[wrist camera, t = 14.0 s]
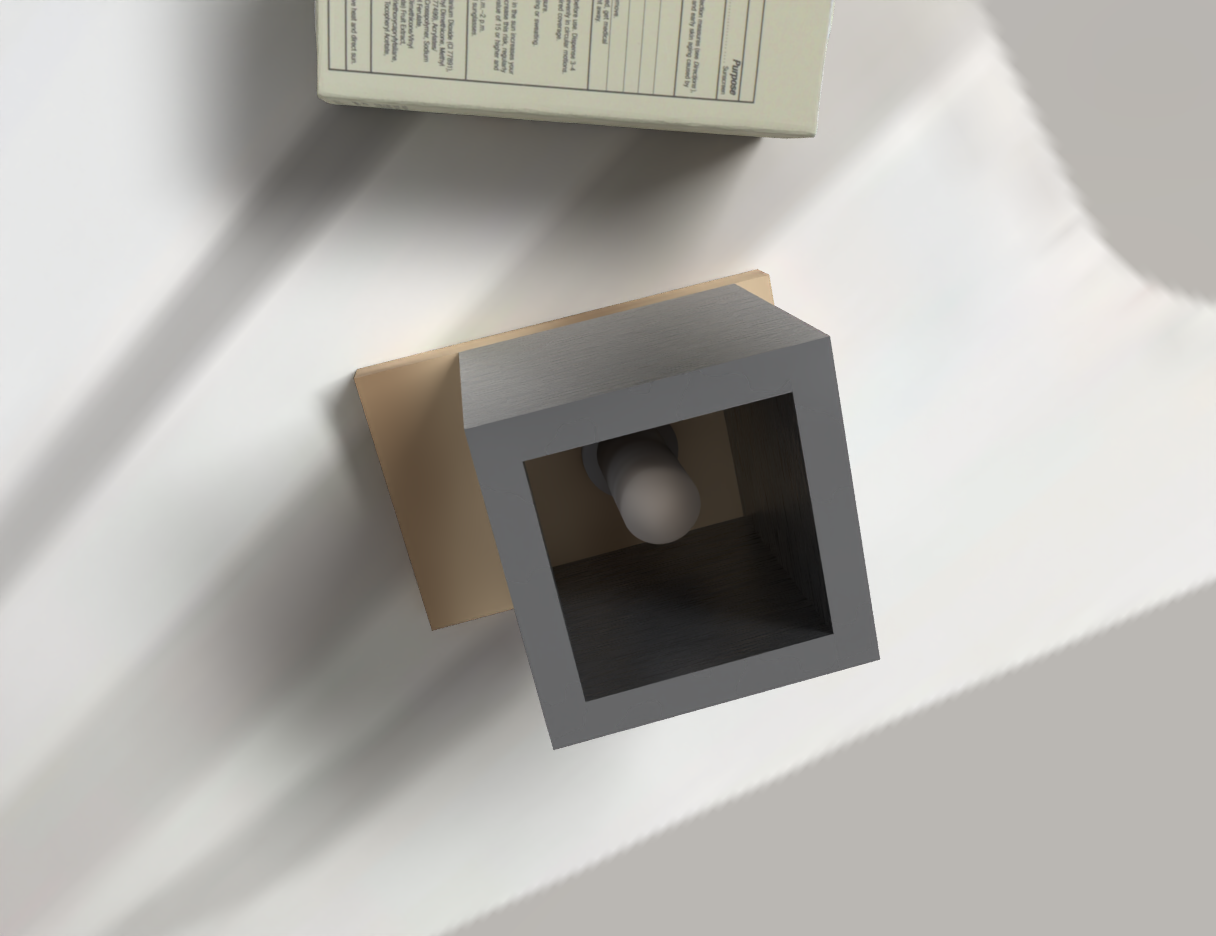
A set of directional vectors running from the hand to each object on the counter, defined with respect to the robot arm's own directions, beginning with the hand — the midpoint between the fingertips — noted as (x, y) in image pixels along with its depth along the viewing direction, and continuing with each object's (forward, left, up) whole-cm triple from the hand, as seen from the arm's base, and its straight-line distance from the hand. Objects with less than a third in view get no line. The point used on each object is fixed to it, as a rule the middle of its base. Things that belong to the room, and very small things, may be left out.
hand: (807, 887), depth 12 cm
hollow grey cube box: (+1, -1, -20) cm, 20 cm away
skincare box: (-4, +13, -19) cm, 24 cm away
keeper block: (0, -1, -22) cm, 22 cm away
